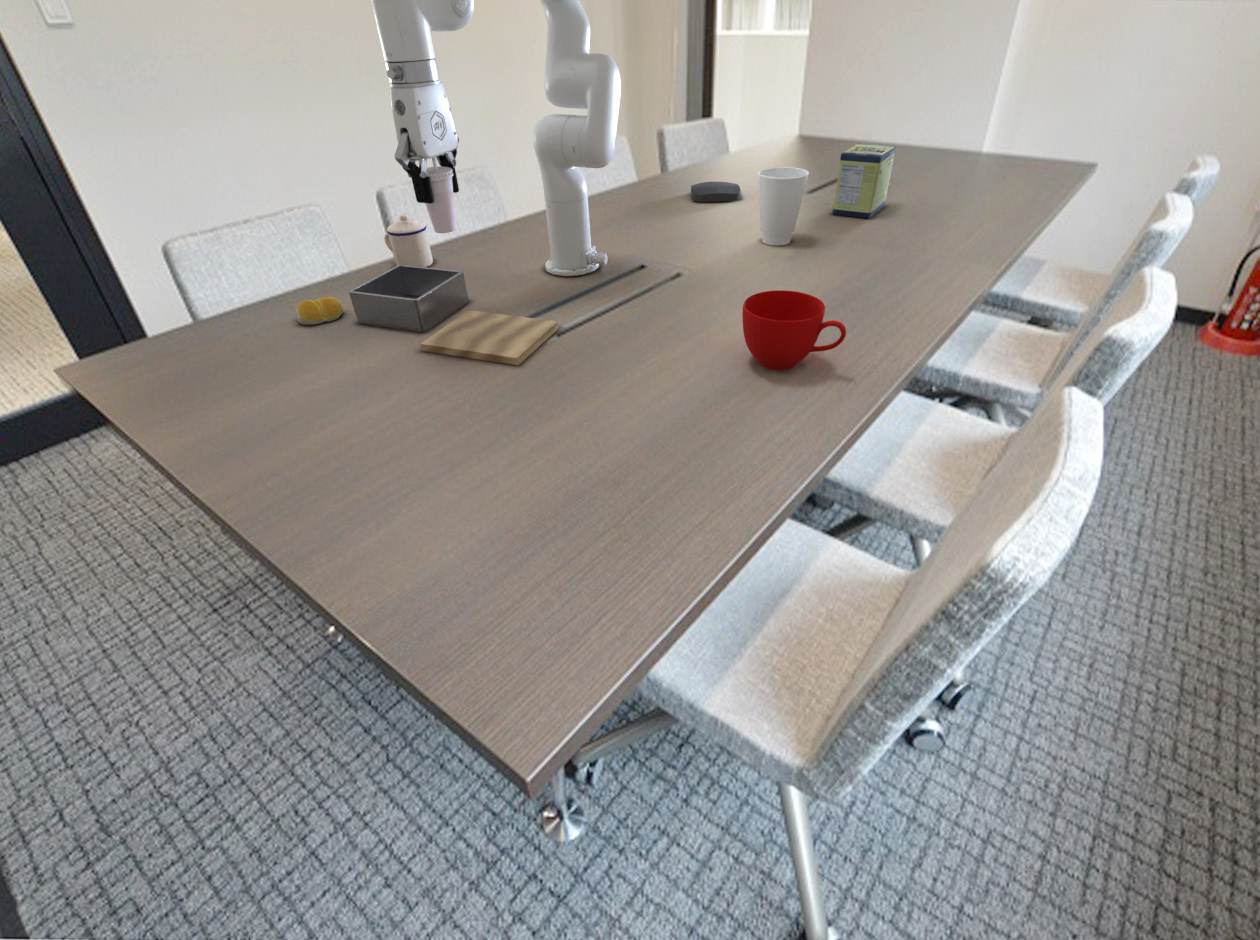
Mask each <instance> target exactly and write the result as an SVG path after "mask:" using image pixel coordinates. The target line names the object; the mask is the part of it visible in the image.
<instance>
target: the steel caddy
mask: <svg viewBox="0 0 1260 940" xmlns="http://www.w3.org/2000/svg"><path fill="white" fill-rule="evenodd" d="M348 294H349V297H350V300H351V304H352V307H353V310H354V314H355V317H356V320H357V323H359V324H360V325H368V326H375V327H380V328H381V327H382V328H390V329H396V330H403V331H409V332H417V333H426V332H428V331H429V330H431V329H432V328H433V327H435V326H437V325H438V324H439V323H441V322H442V321H443V320H445V319H447V318H448V317H450V316H451V315H452V314H454V313H455V312H457V311H458V310H460V309H461V308H463V307H464V306H465V305H467V304H469V303H470V301H469V300H470V299H469V294H468V290H467V285H466V280H465V275H464V271H461V270H454V269H444V268H436V267H417V266H408V265H398V266H397V265H396V266H394V267H392V268H390V269H388V270H386V271H384V272H382V273H380V274H379V275H376V276H375V277H373V278H371V279H369V280H368V281H365V282H364V283H362V284H359V285H358V286H355V287H354V288H352V289H350V290H348ZM407 296H410V297H411V296H412V297H417V298H409V297H407Z"/></svg>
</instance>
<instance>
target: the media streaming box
mask: <svg viewBox="0 0 1260 940" xmlns="http://www.w3.org/2000/svg"><path fill="white" fill-rule="evenodd" d="M741 193H742V192H741V187H740V185H739V184H737V183H734V182H727V181H704V182H699V183H695V184H692V185H691V186H690V195H691V200H693V201H695V202H699V203H700V202H701V203H709V202H711V203H712V202H714V203H715V202H731V201H732V202H733V201H737V200H740V199H741Z"/></svg>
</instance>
